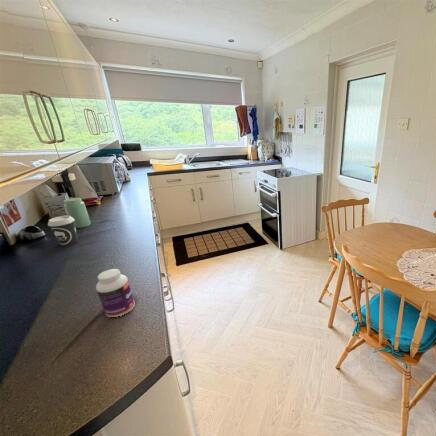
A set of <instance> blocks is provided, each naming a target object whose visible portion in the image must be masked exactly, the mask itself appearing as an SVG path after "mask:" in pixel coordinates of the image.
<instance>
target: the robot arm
mask: <svg viewBox="0 0 436 436" xmlns="http://www.w3.org/2000/svg"><path fill="white" fill-rule="evenodd" d="M69 173H70V172H69V171H68V169H67V168H66V170H65V171H63V172H61V173H60V174H61V175H60V176H61V177H62V179H63V182H59V183H60V186H64V187H65V189H67V188H73V185H72V181H70V179H69V176H68V175H69Z"/></svg>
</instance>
